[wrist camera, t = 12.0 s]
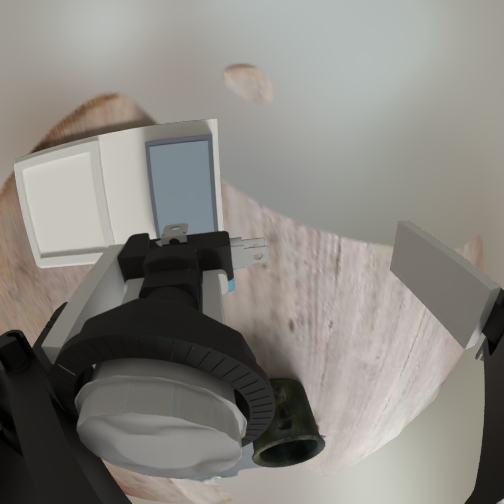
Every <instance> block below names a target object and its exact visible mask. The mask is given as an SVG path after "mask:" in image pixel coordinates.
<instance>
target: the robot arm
mask: <svg viewBox="0 0 504 504" xmlns="http://www.w3.org/2000/svg"><path fill="white" fill-rule="evenodd" d="M124 246H125V245H124V244H117V245H109V246H108V248H107V249H106V250H105V251H104V253H103V254H102V255H101V257H100V258H99V259H98V261H97V262H96V263H95V265H94V266H93V267H92V269H91V270H90V272H89V273H88V274H87V276H86V277H85V279H84V280H83V281H82V283H81V284H80V286H79V287H78V289H77V290H76V291H75V293H74V294H73V296H72V297H71V299H70V300H69V302H65V303H64V304H62V305H61V306H60V307H59V308H58V309H57V310H56V311H55V312H54V314H53V315H52V317H51V318H50V321H48V323H47V324H46V326H45V327H46V328H44V329H43V331H42V332H41V334H40V336H39V337H38V339H37V341H36V342H35V344H34V346H33V347H32V348H31V346H30V344H29V342H28V341H27V339H26V337H25V335H24V333H23V332H22V331H20V330H11V331H8V332H6V333H4V334H2V335H1V336H0V367H1V368H2V369H3V370H0V504H132V503H131V502H130V500H129V499H128V498H127V496H126V495H125V494H124V492H123V491H122V489H121V488H120V487H119V485H118V484H117V482H116V481H115V480H114V478H113V477H112V475H111V474H110V472H109V471H108V469H107V468H106V466H105V464H104V463H103V461H102V460H101V458H100V457H98V456H96V455H95V454H94V453H93V452H92V451H90V450H89V449H87V448H86V446H85V445H84V444H83V443H82V442H81V441H80V438H79V434H78V432H77V431H76V429H77V422H76V421H74V420H73V419H72V418H71V417H70V416H69V414H68V413H67V412H66V411H65V410H64V408H63V407H62V406H61V404H60V403H59V401H58V399H57V397H56V395H55V392H54V390H53V386H52V379H51V374H52V368H53V365H54V363H55V360H56V358H57V356H58V354H59V352H60V350H61V349H62V347H63V346H64V344H65V343H66V342H67V341H68V340H69V339H71V338H72V337H73V336H75V335H76V334H78V333H80V331H81V329H82V327H83V325H84V323H85V321H86V320H87V319H89V318H91V317H94V316H96V315H98V314H101V313H103V312H106V311H108V310H110V309H113V308H115V307H117V306H120V305H121V303H122V301H123V298H124V296H125V292H124V285H125V283H124V280H123V276H122V273H121V269H120V266H119V262H118V259H117V257H118V255H119V254H120V252H121V251H122V249H123V248H124ZM390 270H391V271H392V272H393V273H394V274H395V275H396V276H397V277H398V278H399V279H400V280H401V281H402V282H403V283H404V284H405V285H406V286H407V287H408V288H409V289H410V290H411V291H412V293H413V294H414V295H415V296H416V297H417V298H418V299H419V300H420V301H421V302H422V303H423V304H424V305H425V306H426V307H427V308H428V309H429V310H430V311H431V312H432V314H433V315H434V316H435V317H436V318H437V319H438V320H439V321H440V322H441V323H442V325H443V326H444V327H445V328H446V329H447V330H448V331H449V332H450V334H451V335H452V336H453V337H454V338H455V339H456V340H457V342H458V343H459V344H460V345H461V346H462V347H463V349H464V350H466V349H468V348H470V347H472V346H474V345H476V343H477V341H478V340H479V337H480V335H481V333H483V334H484V335H485V336H486V338H485V339H484V341H483V343H482V345H481V347H480V349H479V351H478V353H477V354H476V358H475V359H478V357H479V356H480V354H483V356H482V357H481V359H480V360H482V361H484V374H485V409H484V427H483V439H482V448H481V455H480V462H479V468H478V473H477V479H476V484H475V488H474V491H473V492H472V494H471V496H470V497H469V498H468V500H467V501H466V502H465V504H504V290H503V289H502V288H501V286H500V285H499V284H498V283H497V282H496V281H494V280H493V279H491V278H490V277H489V276H488V275H487V274H485V273H484V272H483V271H482V270H480V269H479V268H478V267H476V266H475V265H474V264H472V263H471V262H470V261H468V260H467V259H465V258H464V257H463V256H461V255H460V254H458V253H457V252H456V251H454V250H453V249H451V248H450V247H448V246H447V245H445V244H444V243H443V242H441V241H440V240H438V239H437V238H435V237H434V236H432V235H430V234H429V233H427V232H426V231H424V230H423V229H421V228H420V227H418V226H417V225H415V224H414V223H412V222H410V221H398V224H397V231H396V238H395V244H394V250H393V255H392V261H391V266H390ZM95 365H96V364H94V365H92V366H93V368H95Z"/></svg>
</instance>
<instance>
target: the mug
mask: <svg viewBox="0 0 504 504" xmlns="http://www.w3.org/2000/svg"><path fill="white" fill-rule="evenodd" d="M270 384H271V387H272V390H273V394H274V398H275V405H276V409H275V415H274V418H273V420H272V422H271V424H270V425H269V427H268V428H267V429H266V430H265V432H264V433H263V434H262V435H260V436H259V437H258V438H257V439H255V440H254V441H253V448H254V454H253V456H252V460H253V461H254V463H256V464H257V465H260V466H263V467H274V468H275V467H285V466H291V465H295V464H299V463H302V462H305V461H307V460H309V459H311V458H313V457H315V456H316V455H318V454H319V453H320V452H321V451H322V450H323V449H324V447H325V441H324V440H323V439H322V438H321V437H320V434H319V431H318V428H317V425H316V422H315V419H314V416H313V413H312V410H311V407H310V404H309V401H308V398H307V395H306V392H305V389H304V387H303V386H302V385H301V384H300V383H298V382H296V381H294V380H290V379H275V380H270Z"/></svg>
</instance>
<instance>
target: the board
mask: <svg viewBox="0 0 504 504" xmlns="http://www.w3.org/2000/svg"><path fill="white" fill-rule="evenodd" d="M208 134H212V135H213V154H214V171H215V187H216V202H217V216H218V229H219V231H223V217H222V202H221V186H220V170H219V150H218V129H217V119H206V120H194V121H184V122H175V123H167V124H159V125H152V126H146V127H139V128H133V129H128V130H122V131H117V132H112V133H107V134H102V135H98V136H93V137H89V138H85V139H81V140H77V141H73V142H69V143H65V144H62V145H58V146H55V147H51V148H48V149H45V150H41V151H38V152H35V153H32V154H29V155H26V156H23V157H21V158H17V159H16V163H15V164H14V171H15V177H16V184H17V189H18V195H19V200H20V205H21V209H22V214H23V218H24V222H25V226H26V230H27V234H28V238H29V241H30V245H31V248H32V252H33V255H34V258H35V261H36V264H37V266H40V268H48V267H60V266H72V265H85V264H95V263H96V262H97V261H98V259H99V258H100V257H101V255H102V254H103V253H104V251H105V250H106V249H107V248H108V246H109V245H117V244H124V245H125V243H126V242H127V240H128V238H129V237H130V236H131V235H134V234H140V233H148V234H149V237H150V239H157V237H156V231H155V225H154V218H153V211H152V204H151V196H150V188H149V180H148V171H147V161H146V150H145V142H147V141H153V140H160V139H168V138H176V137H185V136H196V135H208Z"/></svg>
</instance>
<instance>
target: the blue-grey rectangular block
mask: <svg viewBox="0 0 504 504" xmlns="http://www.w3.org/2000/svg"><path fill="white" fill-rule="evenodd" d="M145 150H146V161H147V171H148V180H149V188H150V196H151V204H152V211H153V218H154V225H155V231H156V237H157V239H158V238H161V236H162V232H163V230H164V227H165V226H167V225H172V224H180V223H187V224H188V229H187V233H186V235H190V234H198V233H207V232H215V231H219V229H218V216H217V202H216V187H215V171H214V154H213V135H212V134H208V135H196V136H185V137H176V138H168V139H160V140H153V141H147V142H145ZM177 229H180V228H179V227H178V228H173V229H171V230H177Z"/></svg>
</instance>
